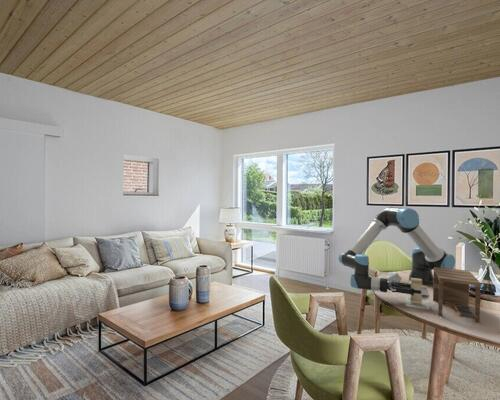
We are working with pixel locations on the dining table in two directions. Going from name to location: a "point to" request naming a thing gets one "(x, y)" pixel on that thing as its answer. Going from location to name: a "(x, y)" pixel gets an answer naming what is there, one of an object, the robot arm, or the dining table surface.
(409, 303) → the pad
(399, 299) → the dining table surface
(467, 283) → the small wooden table
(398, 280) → the grey rock
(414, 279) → the maple block
